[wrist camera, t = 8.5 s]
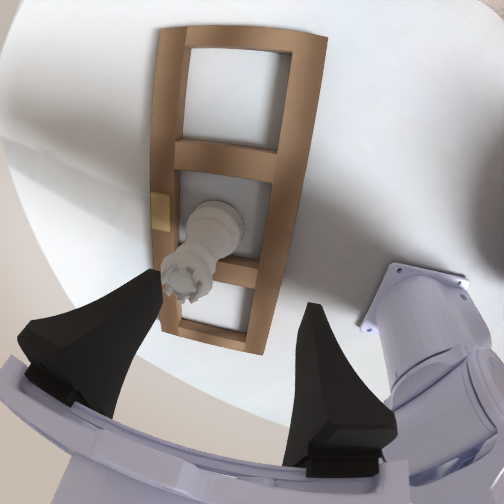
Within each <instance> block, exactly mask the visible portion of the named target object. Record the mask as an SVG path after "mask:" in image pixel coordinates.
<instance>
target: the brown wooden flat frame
mask: <svg viewBox="0 0 504 504" xmlns="http://www.w3.org/2000/svg"><path fill="white" fill-rule="evenodd" d="M327 42H328V37H324V36H320V35H314V34H309V33H303V32H297V31H290V30H282V29H274V28H263V27H249V26H188V27H174V28H164V29H161V33H160V39H159V46H158V53H157V61H156V70H155V79H154V90H153V102H152V118H151V140H150V207H151V230H152V246H153V260H154V270H157V271H160V272H161V264H162V262H163V260H164V258H165V257H166V256H168V255H169V254H171V253H174V252H175V251H176V249H177V247H179V246H180V245H179V201H180V170H188V171H196V172H204V173H211V174H218V175H225V176H232V177H239V178H245V179H251V180H257V181H263V182H269V183H272V188H271V194H270V201H269V207H268V213H267V219H266V225H265V231H264V237H263V243H262V249H261V255H260V261H257V260H252V259H247V258H241V257H236V256H231V255H228V256H226V257H224V258H221V259H219V260H218V261H217V262H216V269H215V273H214V274H213V275H212V278H213V281H218V282H223V283H228V284H232V285H237V286H242V287H247V288H252V289H255V290H254V296H253V302H252V307H251V313H250V319H249V325H248V330H247V334H244V333H239V332H235V331H230V330H226V329H221V328H217V327H213V326H208V325H204V324H200V323H196V322H192V321H188V320H184V319H182V310H181V303H179V302H176V299H177V297H178V296H177V295H175V294H174V293H172V294H171V295H170V296H169V297H168V296H167V295H166V294H165V292H164V291H163V290H164V289H165V287H166V285H165V284H162V294H163V304H162V307H161V309H160V311H159V315H160V322H161V329H162V332H166V333H169V334H173V335H177V336H180V337H184V338H188V339H191V340H195V341H199V342H203V343H207V344H211V345H215V346H220V347H224V348H229V349H233V350H238V351H242V352H247V353H252V354H257V355H262V356H263V353H264V349H265V346H266V342H267V338H268V334H269V330H270V326H271V322H272V318H273V314H274V310H275V306H276V302H277V298H278V294H279V290H280V286H281V282H282V277H283V273H284V269H285V265H286V260H287V256H288V251H289V247H290V243H291V238H292V234H293V229H294V224H295V220H296V215H297V210H298V206H299V201H300V196H301V191H302V186H303V181H304V176H305V171H306V166H307V161H308V156H309V151H310V145H311V140H312V134H313V129H314V123H315V118H316V112H317V106H318V100H319V94H320V88H321V82H322V76H323V69H324V62H325V56H326V49H327ZM191 48H227V49H245V50H258V51H268V52H276V53H284V54H291V55H292V60H291V67H290V74H289V80H288V87H287V93H286V100H285V106H284V113H283V119H282V126H281V132H280V138H279V145H278V151H273V150H267V149H261V148H254V147H248V146H240V145H233V144H225V143H216V142H207V141H197V140H185V139H182V133H183V120H184V108H185V97H186V87H187V78H188V70H189V62H190V54H191Z"/></svg>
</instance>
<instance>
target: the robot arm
mask: <svg viewBox="0 0 504 504" xmlns="http://www.w3.org/2000/svg"><path fill="white" fill-rule="evenodd" d="M399 268H401V270H399V271H397V270H398V269H399ZM458 281H459V282H458ZM457 282H458V283H457ZM469 284H470V282H469V280H468V279H467V278H463V277H459V276H454V275H450V274H446V273H441V272H437V271H432V270H428V269H423V268H419V267H414V266H410V265H405V264H401V263H396V262H393V263H391V264H390V265H389V267H388V269H387V271H386V273H385V276H384V278H383V280H382V282H381V285H380V287H379V289H378V291H377V293H376V295H375V297H374V299H373V301H372V304H371V306H370V308H369V310H368V312H367V314H366V316H365V318H364V319H363V321H362V323H361V325H360V331H361V332H362V333H369V334H377V335H380V339H381V344H382V349H383V354H384V358H385V364H386V369H387V374H388V380H389V386H390V392H391V395H390V397H389V398H388V399H386V400H385V401H384V404H383V403H382V402H381V401H380V400H379V399H378V398H377V397H376V396H375V395H374V394H373V393H372V392H371V391H370V390H369V388H368V387H367V386H366V385H365V384H364V382H363V381H362V380H361V379H360V377H359V376H358V375H357V373H356V372H355V371H354V369H353V368H352V366H351V365H350V363H349V362H348V360H347V358H346V357H345V355H344V353H343V351H342V350H341V348H340V346H339V344H338V342H337V340H336V338H335V336H334V334H333V332H332V329H331V327H330V325H329V323H328V320H327V318H326V315H325V313H324V310H323V307H322V306H321V304H316V303H311V302H308V304H307V307H306V310H305V313H304V316H303V319H302V321H301V324H300V327H299V330H298V335H297V343H296V358H295V398H294V405H293V412H292V418H291V424H290V430H289V436H288V440H287V446H286V451H285V455H284V459H283V464H282V466H276V465H268V464H261V463H255V462H249V461H243V460H237V459H232V458H228V457H223V456H218V455H214V454H210V453H206V452H202V451H198V450H195V449H191V448H188V447H184V446H181V445H178V444H174V443H171V442H168V441H165V440H162V439H159V438H157V437H154V436H151V435H148V434H145V433H143V432H140V431H138V430H135V429H133V428H130V427H128V426H126V425H123V424H121V423H119V422H116V421H114V420H112V418H113V414H114V410H115V407H116V403H117V399H118V397H119V394H120V391H121V387H122V385H123V382H124V379H125V376H126V374H127V372H128V369H129V367H130V365H131V362H132V360H133V358H134V356H135V354H136V352H137V350H138V348H139V347H140V345H141V343H142V342H143V340H144V338H145V337H146V335H147V333H148V332H149V330H150V328H151V327H152V325H153V323H154V322H155V320H156V318H157V316H158V314H159V311H160V309H161V307H162V304H163V294H162V284H161V272H160V271H157V270H153V269H148V270H147V271H145V272H143V273H142V274H140V275H138V276H137V277H135V278H134V279H132V280H131V281H129V282H127V283H126V284H124V285H123V286H121V287H119V288H118V289H116V290H114V291H112V292H111V293H109V294H107V295H105V296H104V297H102V298H100V299H98V300H96V301H94V302H92V303H89V304H87V305H85V306H83V307H80V308H77V309H74V310H72V311H69V312H66V313H63V314H59V315H56V316H52V317H47V318H43V319H37V320H31V321H30V322H29V323H28V324H27V325H26V327H25V328H24V329H23V330H22V331H21V333H20V334H19V335H18V336H17V340H18V343H19V346H20V347H21V349H22V351H23V352H24V354H25V355H26V357H27V358H28V360H29V361H30V362H31V365H30V366H29V367H27V366H26V365H25V364H24V363H23V362H22V361H20V360H19V359H18V358H16V357H15V356H14V355H11V356H10V357H9V358H8V360H7V361H6V362H5V364H4V365H3V367H2V368H1V369H0V400H1V401H2V402H3V403H4V404H5V405H6V406H7V407H8V408H9V409H10V410H11V411H12V412H13V413H14V414H15V415H17V416H18V417H19V418H20V419H21V420H23V421H24V422H25V423H27V424H28V425H29V426H30V427H32V428H33V429H34V430H35V431H37V432H38V433H39V434H41V435H42V436H43V437H45V438H46V439H48V440H49V441H50V442H52V443H53V444H55V445H56V446H58V447H59V448H61V449H62V450H64V451H65V452H67V453H69V454H70V455H72V457H71V460H70V462H69V464H68V466H67V468H66V470H65V472H64V475H63V477H62V479H61V481H60V484H59V486H58V488H57V490H56V493H55V495H54V497H53V500H52V502H51V504H410V503H412V504H504V473H503V471H504V364H503V362H502V361H501V360H500V358H499V357H498V356H497V355H496V354H495V353H494V352H493V351H492V350H491V348H492V342H491V335H490V332H489V329H488V327H487V325H486V323H485V322H484V320H483V318H482V316H481V314H480V313H479V311H478V309H477V308H476V306H475V304H474V302H473V301H472V299H471V297H470V296H469V294H468V293H467V291H466V290H467V288H468V286H469ZM369 328H371V329H369ZM210 471H211V472H210ZM213 472H215V473H213ZM216 473H219V474H216ZM220 474H224V475H229V476H234V477H237V478H236V479H235V478H231V477H227V476H223V475H220Z"/></svg>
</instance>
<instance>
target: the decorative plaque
mask: <svg viewBox="0 0 504 504" xmlns="http://www.w3.org/2000/svg"><path fill="white" fill-rule="evenodd" d="M479 1H480V2H482V3H484V4H485V5H487V6H488V7H490V8H491V9H492V10H494V11H495V12H496V13H497V14H498V15H499V16H500V17H501V18H502V19H503V20H504V0H479Z"/></svg>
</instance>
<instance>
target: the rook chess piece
mask: <svg viewBox="0 0 504 504" xmlns="http://www.w3.org/2000/svg"><path fill="white" fill-rule="evenodd" d="M185 234H186V240H185V243H183V244H182V245H180V246H179V247H177V249H176V251H175V252H174V253H171V254H169V255H168V256H166V257H165V258H164V260H163V262H162V264H161V284H165V285H166V287H165V289H164V290H163V291H164V292H165V294H166V295H167V296H168V297H169V296H170V295H171V294H172V293H174V294H175V295H177V296H178V297H177V299H176V302H179V303H183V304H184V302H185V300H186V299H189V301H190V303H193V302H195V301H197V300H198V298H200V297H202V296H204V295H207V294H208V292H209V291H210V290H211V288H212V283H213V278H212V275H213V274H214V273H215V269H216V262H217V261H218V260H219V259H221V258H224V257H226V256H228V255H230V254H232V253H233V252H234V251H235V249H236V248H237V247H238V245H239V244H240V242H241V240H242V239H243V234H244V225H243V221H242V218H241V216H240V215H239V214H238V212H237V211H236V210H235V209H234V208H233V207H231V206H230V205H228V204H227V203H225V202H220V201H215V200H212V201H206V202H203V203H201V204H200V205H198V206H197V207H195V208H194V210H193V212H192V213H191V215H190V216H189V218H188V220H187V222H186V232H185Z"/></svg>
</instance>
